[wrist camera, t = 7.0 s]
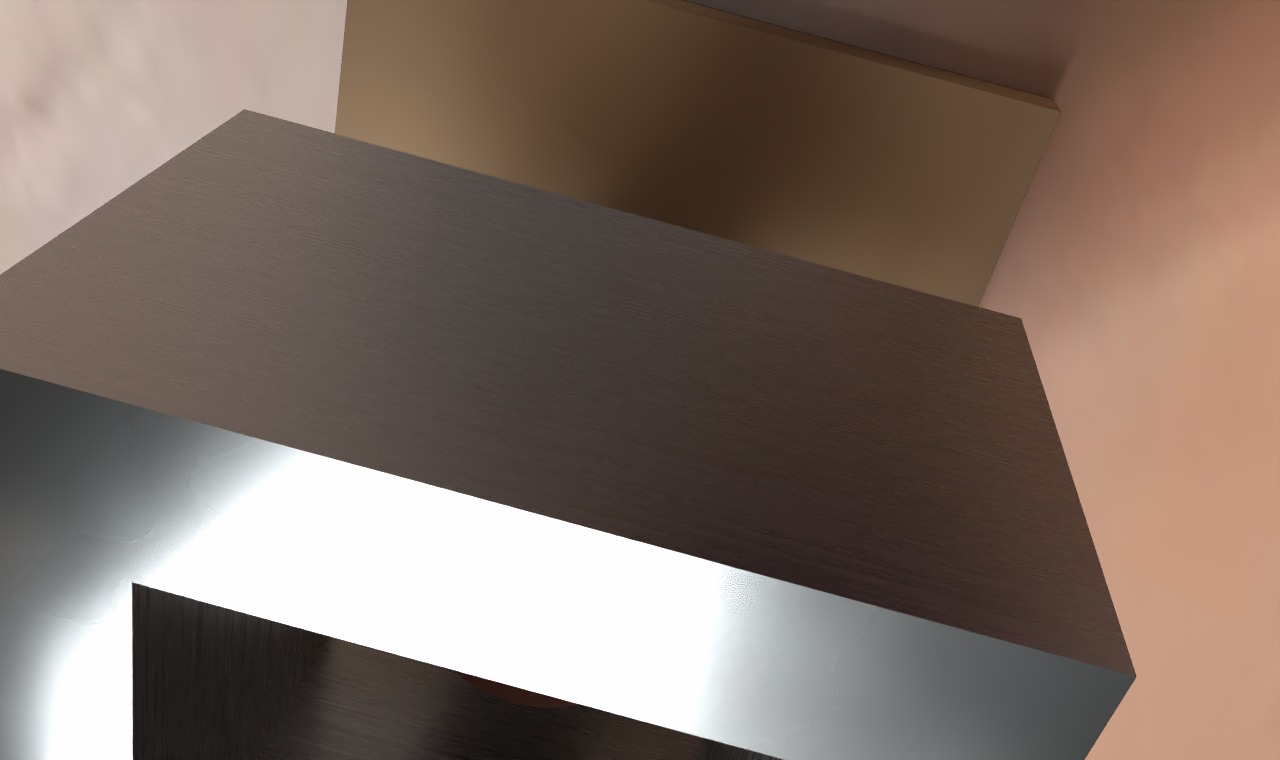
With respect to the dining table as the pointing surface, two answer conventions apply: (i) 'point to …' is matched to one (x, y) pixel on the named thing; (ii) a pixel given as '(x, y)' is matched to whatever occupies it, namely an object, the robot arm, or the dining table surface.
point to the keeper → (705, 133)
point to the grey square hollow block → (516, 486)
